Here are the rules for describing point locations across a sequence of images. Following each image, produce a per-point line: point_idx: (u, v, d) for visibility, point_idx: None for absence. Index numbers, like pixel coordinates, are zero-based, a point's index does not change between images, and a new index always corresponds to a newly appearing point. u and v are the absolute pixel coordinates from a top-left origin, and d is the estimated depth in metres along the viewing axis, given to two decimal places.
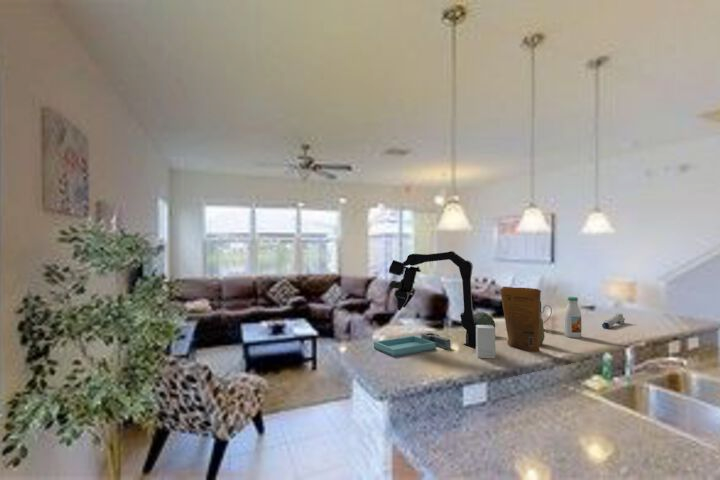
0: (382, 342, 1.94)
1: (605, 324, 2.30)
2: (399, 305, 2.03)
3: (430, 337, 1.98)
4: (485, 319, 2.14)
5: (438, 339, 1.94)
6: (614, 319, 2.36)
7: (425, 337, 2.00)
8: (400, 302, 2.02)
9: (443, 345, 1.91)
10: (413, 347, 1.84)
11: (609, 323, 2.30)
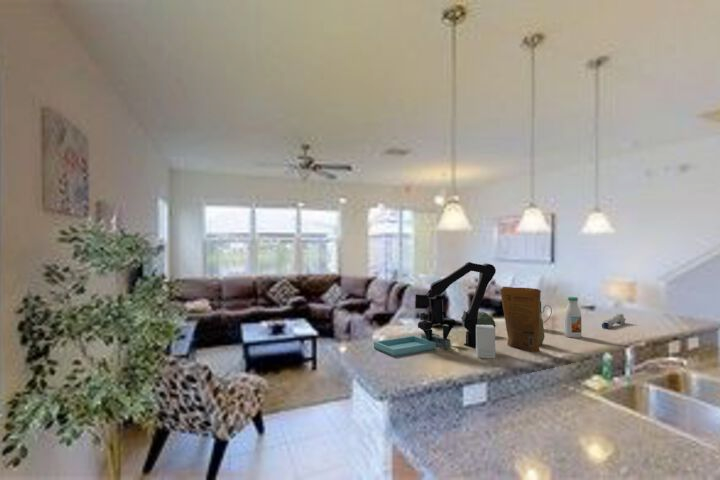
0: (382, 342, 1.94)
1: (605, 324, 2.30)
2: (427, 338, 1.95)
3: None
4: (485, 319, 2.14)
5: (438, 339, 1.94)
6: (614, 319, 2.36)
7: (425, 337, 2.00)
8: (427, 334, 1.95)
9: (443, 345, 1.91)
10: (413, 347, 1.84)
11: (609, 323, 2.30)
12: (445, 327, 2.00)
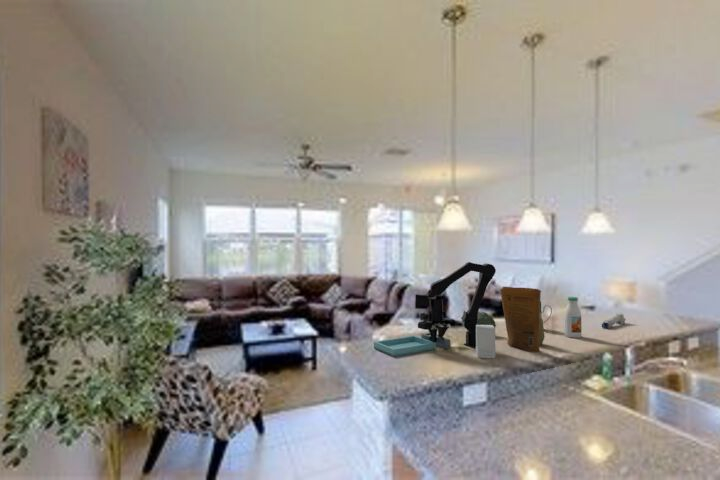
0: (382, 342, 1.94)
1: (604, 324, 2.30)
2: (432, 337, 1.96)
3: (430, 337, 1.98)
4: (485, 319, 2.15)
5: (438, 339, 1.94)
6: (614, 319, 2.36)
7: (425, 337, 2.00)
8: (432, 333, 1.96)
9: (443, 345, 1.91)
10: (413, 347, 1.84)
11: (608, 323, 2.30)
12: (440, 328, 1.98)
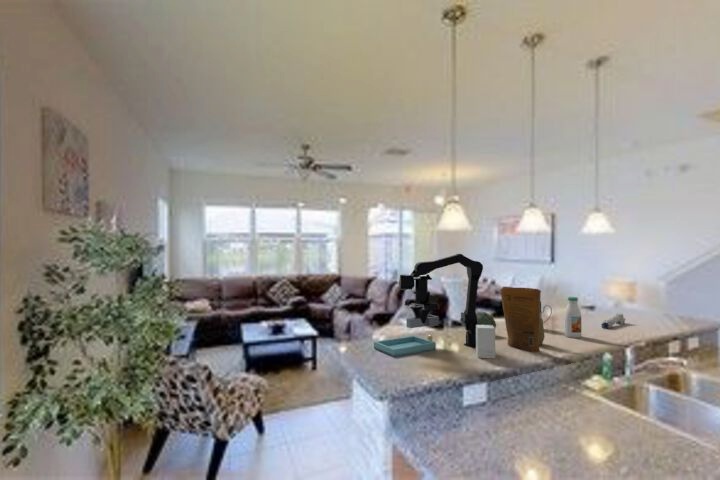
0: (382, 342, 1.94)
1: (604, 324, 2.30)
2: None
3: None
4: (486, 319, 2.15)
5: None
6: (614, 319, 2.36)
7: None
8: None
9: None
10: (413, 347, 1.84)
11: (608, 323, 2.30)
12: None
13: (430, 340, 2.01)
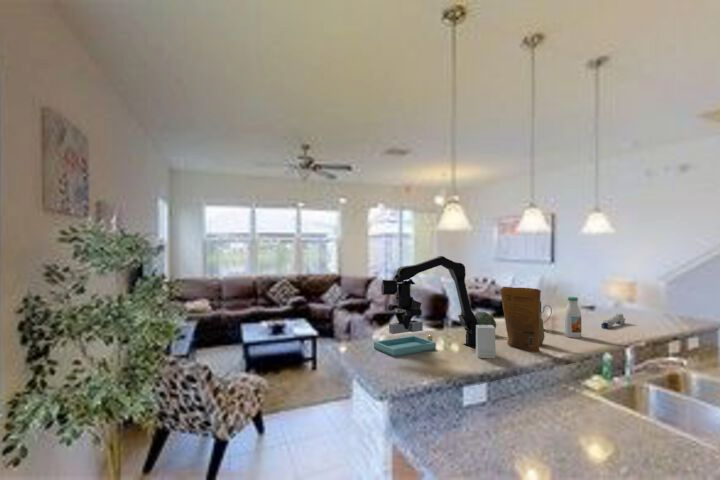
0: (382, 342, 1.94)
1: (604, 324, 2.30)
2: None
3: None
4: (486, 319, 2.15)
5: None
6: (614, 319, 2.35)
7: None
8: None
9: None
10: (413, 347, 1.84)
11: (608, 323, 2.30)
12: None
13: (430, 340, 2.01)
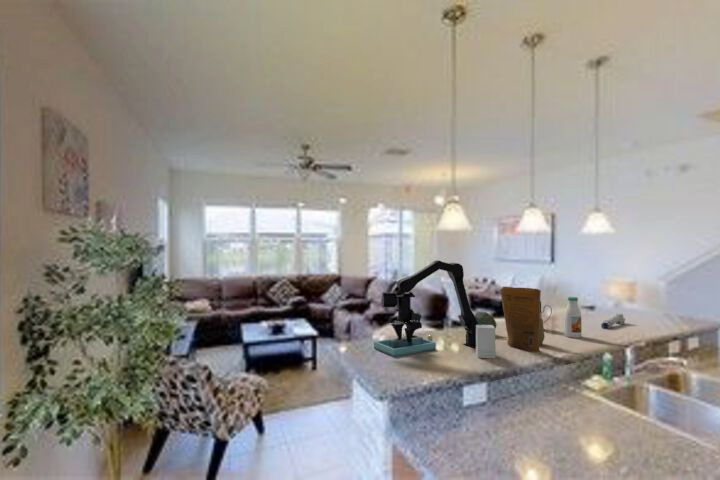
0: (382, 342, 1.94)
1: (604, 324, 2.30)
2: None
3: None
4: (486, 318, 2.15)
5: None
6: (614, 319, 2.35)
7: None
8: None
9: None
10: (413, 347, 1.84)
11: (608, 323, 2.30)
12: None
13: (430, 340, 2.01)
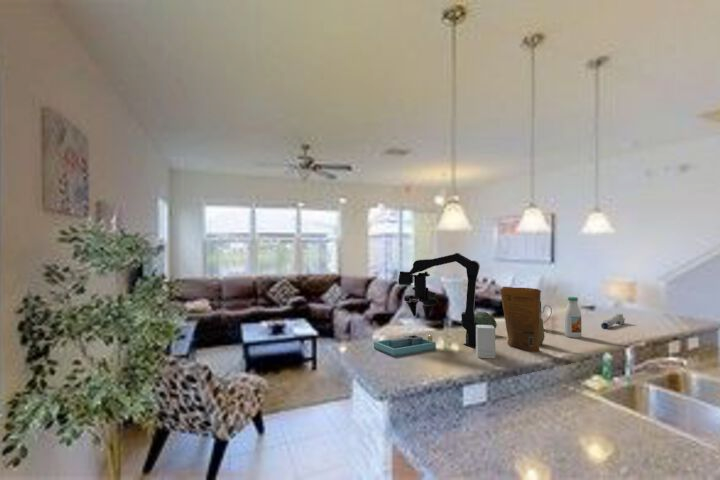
0: (382, 342, 1.94)
1: (604, 324, 2.30)
2: None
3: None
4: (486, 318, 2.16)
5: None
6: (614, 319, 2.35)
7: None
8: None
9: None
10: (413, 347, 1.84)
11: (608, 323, 2.29)
12: None
13: (430, 340, 2.01)
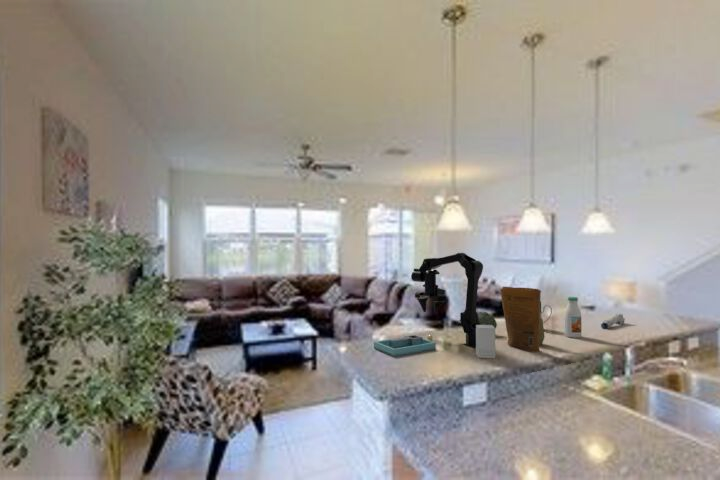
0: (382, 342, 1.94)
1: (604, 324, 2.29)
2: None
3: None
4: (487, 318, 2.16)
5: None
6: (613, 319, 2.35)
7: None
8: None
9: None
10: (413, 347, 1.84)
11: (608, 323, 2.29)
12: None
13: (430, 340, 2.01)
